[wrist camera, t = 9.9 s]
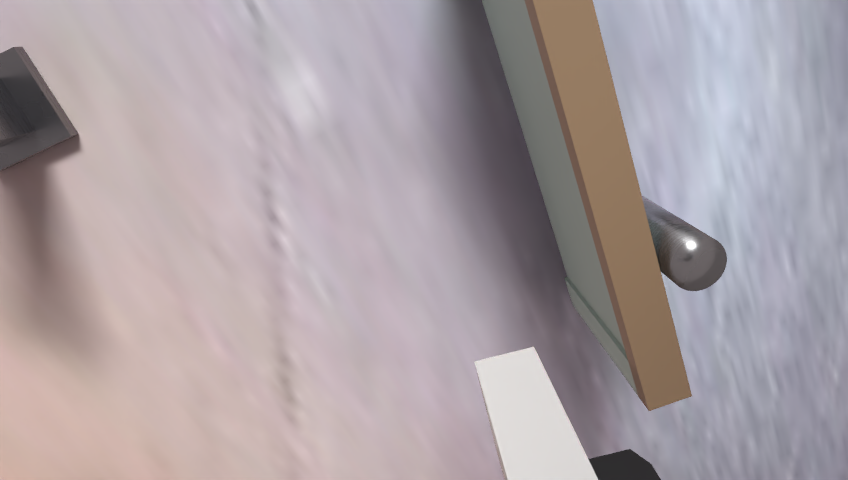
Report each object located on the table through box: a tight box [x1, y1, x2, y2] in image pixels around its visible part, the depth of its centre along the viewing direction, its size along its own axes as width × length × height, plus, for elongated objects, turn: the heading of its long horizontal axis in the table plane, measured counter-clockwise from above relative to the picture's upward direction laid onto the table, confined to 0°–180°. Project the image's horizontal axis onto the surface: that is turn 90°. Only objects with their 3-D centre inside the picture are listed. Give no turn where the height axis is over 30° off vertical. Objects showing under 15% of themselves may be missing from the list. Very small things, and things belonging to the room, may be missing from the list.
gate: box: [482, 0, 692, 411], centre depth 28 cm, size 22×2×11 cm, turn 20°
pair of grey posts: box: [0, 47, 727, 291], centre depth 28 cm, size 32×22×13 cm
